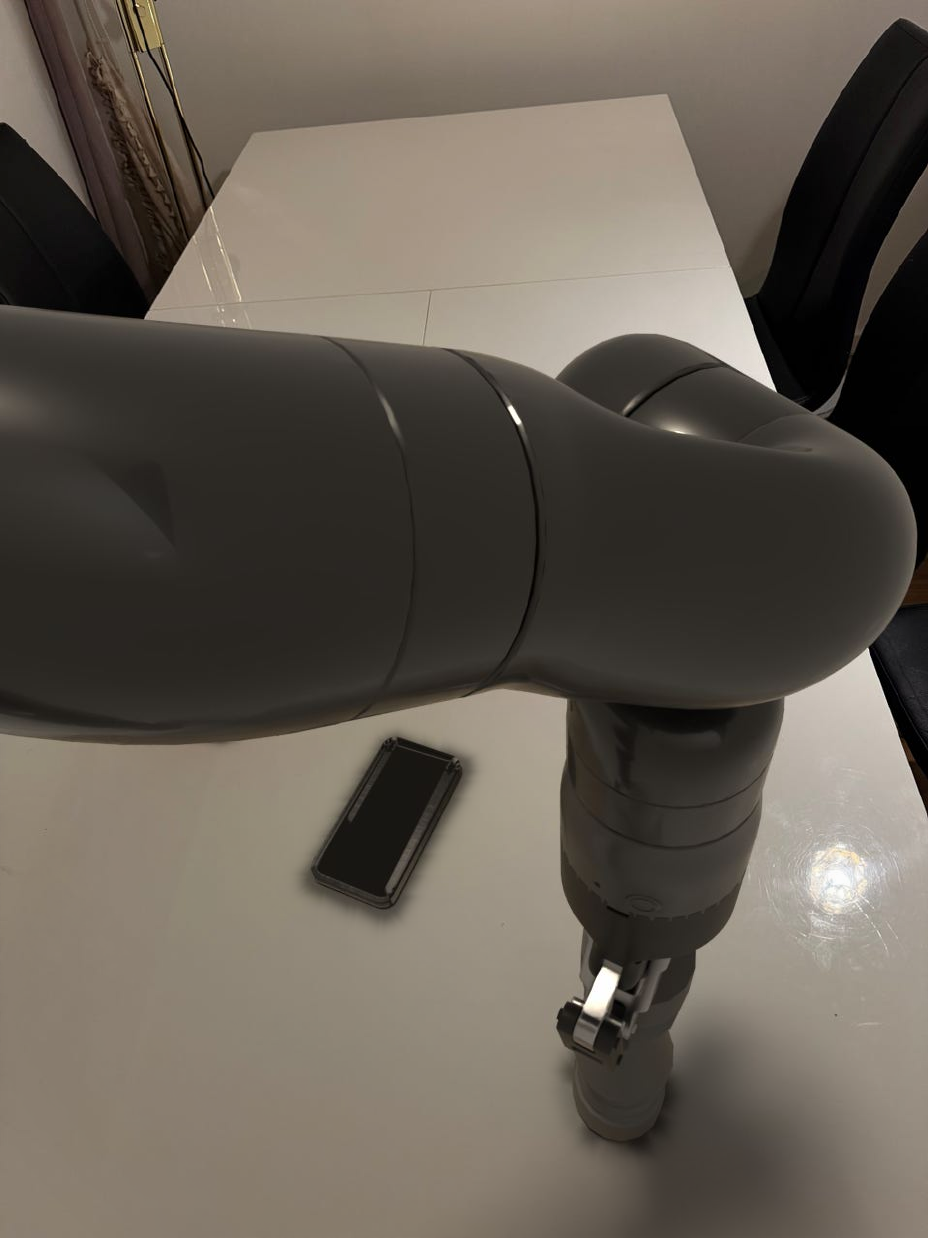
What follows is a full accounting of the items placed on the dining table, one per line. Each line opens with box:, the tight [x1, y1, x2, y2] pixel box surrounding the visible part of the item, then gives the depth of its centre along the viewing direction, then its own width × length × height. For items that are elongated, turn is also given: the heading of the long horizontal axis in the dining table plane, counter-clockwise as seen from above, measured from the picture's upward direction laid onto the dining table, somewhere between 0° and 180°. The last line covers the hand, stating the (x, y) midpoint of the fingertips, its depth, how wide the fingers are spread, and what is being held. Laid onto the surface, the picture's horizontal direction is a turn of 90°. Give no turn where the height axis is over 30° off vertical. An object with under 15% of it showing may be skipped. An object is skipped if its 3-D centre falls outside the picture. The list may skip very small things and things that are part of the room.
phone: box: [310, 736, 462, 909], centre depth 80 cm, size 8×1×15 cm
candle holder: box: [572, 927, 697, 1142], centre depth 55 cm, size 6×6×25 cm
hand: (632, 982), depth 49 cm, fingers closed on candle holder, 5 cm apart
